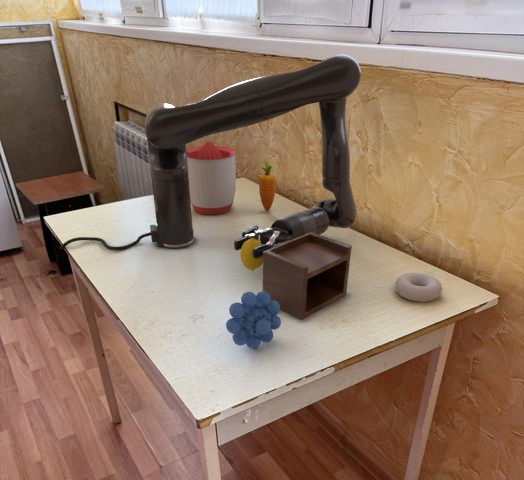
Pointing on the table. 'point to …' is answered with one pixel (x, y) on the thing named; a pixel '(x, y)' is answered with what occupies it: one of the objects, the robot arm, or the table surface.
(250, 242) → the lemon
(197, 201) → the citrus juicer
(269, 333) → the grapes
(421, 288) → the donut
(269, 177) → the carrot
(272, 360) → the table surface
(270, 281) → the tray
